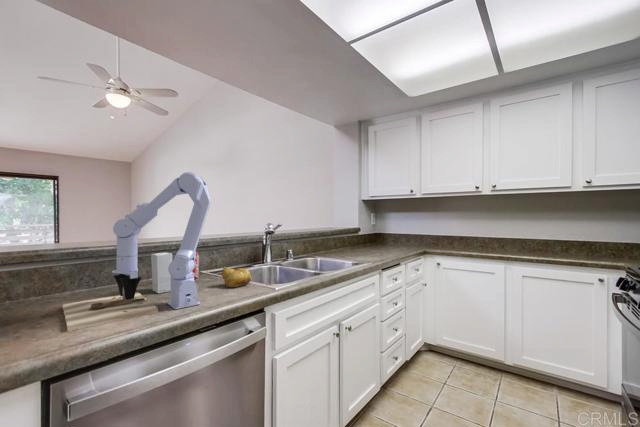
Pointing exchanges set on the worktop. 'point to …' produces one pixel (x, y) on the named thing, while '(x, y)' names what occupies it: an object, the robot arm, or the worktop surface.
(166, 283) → the skincare box
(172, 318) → the worktop surface
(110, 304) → the lever
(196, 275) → the soda can
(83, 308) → the dial board
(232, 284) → the potato
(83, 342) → the worktop surface
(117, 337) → the worktop surface
